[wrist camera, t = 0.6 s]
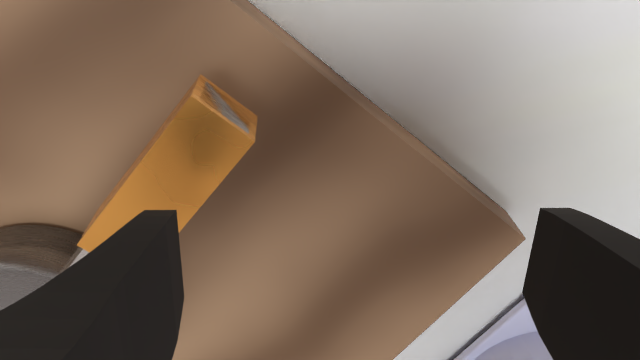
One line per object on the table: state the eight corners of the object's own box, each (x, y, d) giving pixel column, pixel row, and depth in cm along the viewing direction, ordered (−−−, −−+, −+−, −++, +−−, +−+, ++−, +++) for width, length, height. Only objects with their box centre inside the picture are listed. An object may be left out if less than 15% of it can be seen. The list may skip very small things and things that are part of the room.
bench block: (505, 211, 22) (525, 238, 21) (215, 484, 28) (210, 524, 26) (54, -157, 16) (26, -164, 14) (-202, 288, 22) (-244, 323, 20)
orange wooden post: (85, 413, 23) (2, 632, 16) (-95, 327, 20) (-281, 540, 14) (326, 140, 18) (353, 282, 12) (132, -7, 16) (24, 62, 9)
